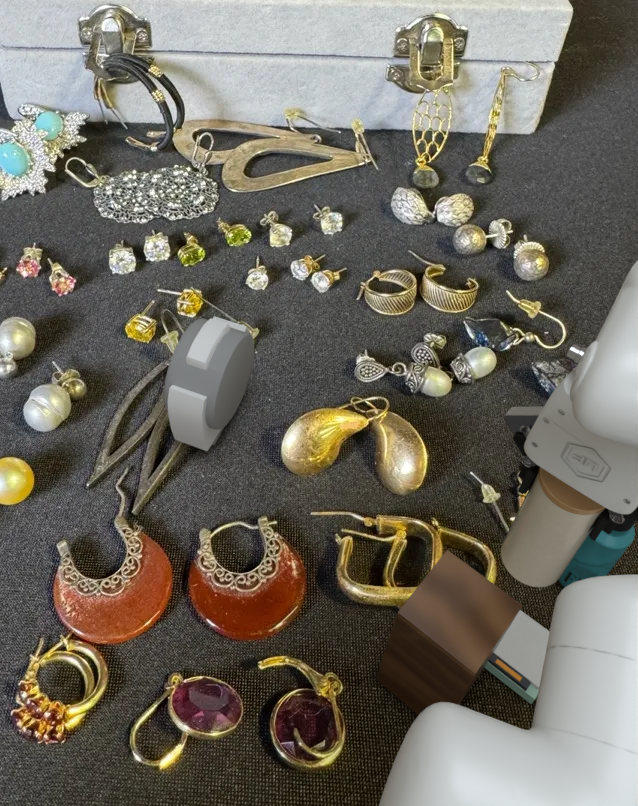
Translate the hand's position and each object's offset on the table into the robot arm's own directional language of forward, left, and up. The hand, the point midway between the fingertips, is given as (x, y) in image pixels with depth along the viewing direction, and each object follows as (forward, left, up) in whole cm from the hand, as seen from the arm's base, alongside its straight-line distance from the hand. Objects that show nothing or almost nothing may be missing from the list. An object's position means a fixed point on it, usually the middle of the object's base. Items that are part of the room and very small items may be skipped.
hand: (563, 504), depth 75 cm
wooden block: (-5, +3, -43) cm, 43 cm away
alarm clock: (+6, +53, -43) cm, 69 cm away
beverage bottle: (+20, -5, -43) cm, 48 cm away
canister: (0, 0, -11) cm, 11 cm away
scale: (+5, -4, -43) cm, 43 cm away
